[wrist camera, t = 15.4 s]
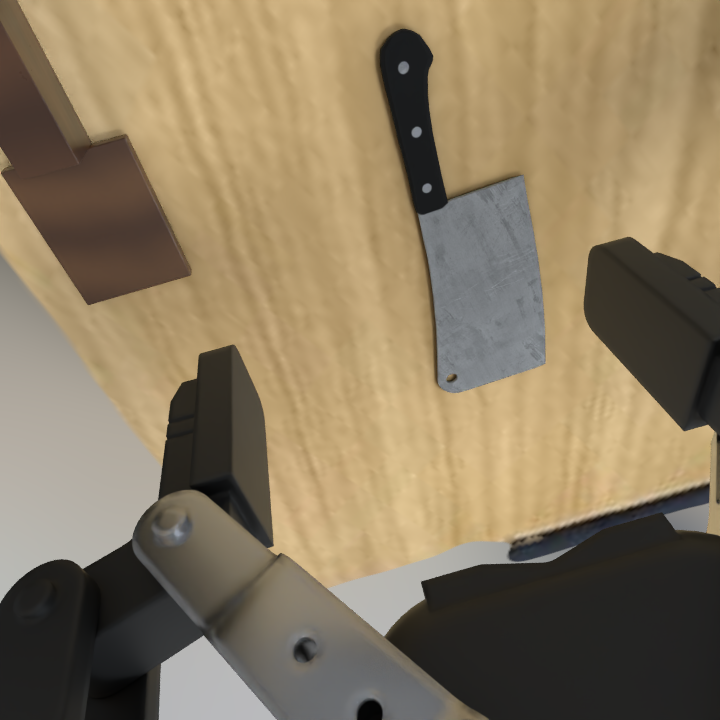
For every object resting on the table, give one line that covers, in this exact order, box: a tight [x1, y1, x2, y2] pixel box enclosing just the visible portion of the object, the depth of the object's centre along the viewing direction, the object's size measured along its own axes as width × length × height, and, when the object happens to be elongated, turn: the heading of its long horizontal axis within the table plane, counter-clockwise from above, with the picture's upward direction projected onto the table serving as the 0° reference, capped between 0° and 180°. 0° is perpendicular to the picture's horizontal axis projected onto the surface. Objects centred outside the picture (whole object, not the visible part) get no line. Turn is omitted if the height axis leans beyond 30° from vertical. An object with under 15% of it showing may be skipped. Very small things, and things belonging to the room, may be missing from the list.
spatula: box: [0, 0, 191, 305], centre depth 26 cm, size 24×7×4 cm, turn 11°
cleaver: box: [380, 29, 545, 393], centre depth 38 cm, size 29×1×10 cm
